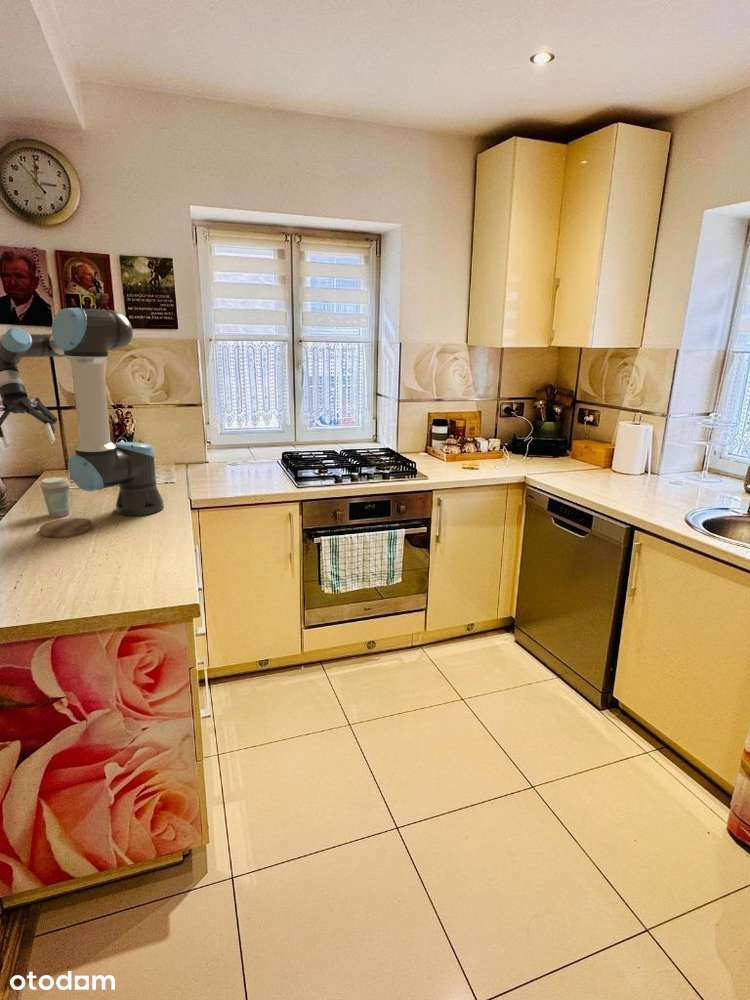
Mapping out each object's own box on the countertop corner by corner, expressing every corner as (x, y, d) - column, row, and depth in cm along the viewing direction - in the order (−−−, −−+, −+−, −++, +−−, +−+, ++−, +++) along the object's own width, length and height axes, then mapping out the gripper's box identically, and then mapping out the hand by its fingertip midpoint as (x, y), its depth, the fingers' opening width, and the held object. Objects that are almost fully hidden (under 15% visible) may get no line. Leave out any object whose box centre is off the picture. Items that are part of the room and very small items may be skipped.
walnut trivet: (99, 522, 177) (99, 518, 176) (80, 537, 163) (79, 533, 163) (54, 522, 176) (53, 518, 175) (31, 538, 162) (30, 533, 162)
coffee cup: (44, 520, 178) (38, 483, 174) (45, 512, 185) (40, 477, 182) (74, 516, 182) (69, 481, 178) (74, 509, 189) (69, 475, 185)
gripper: (48, 392, 198) (67, 445, 195) (-35, 394, 179) (-16, 452, 176) (54, 381, 193) (74, 435, 190) (-32, 381, 174) (-12, 441, 171)
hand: (31, 443), depth 183 cm, fingers open, 13 cm apart
